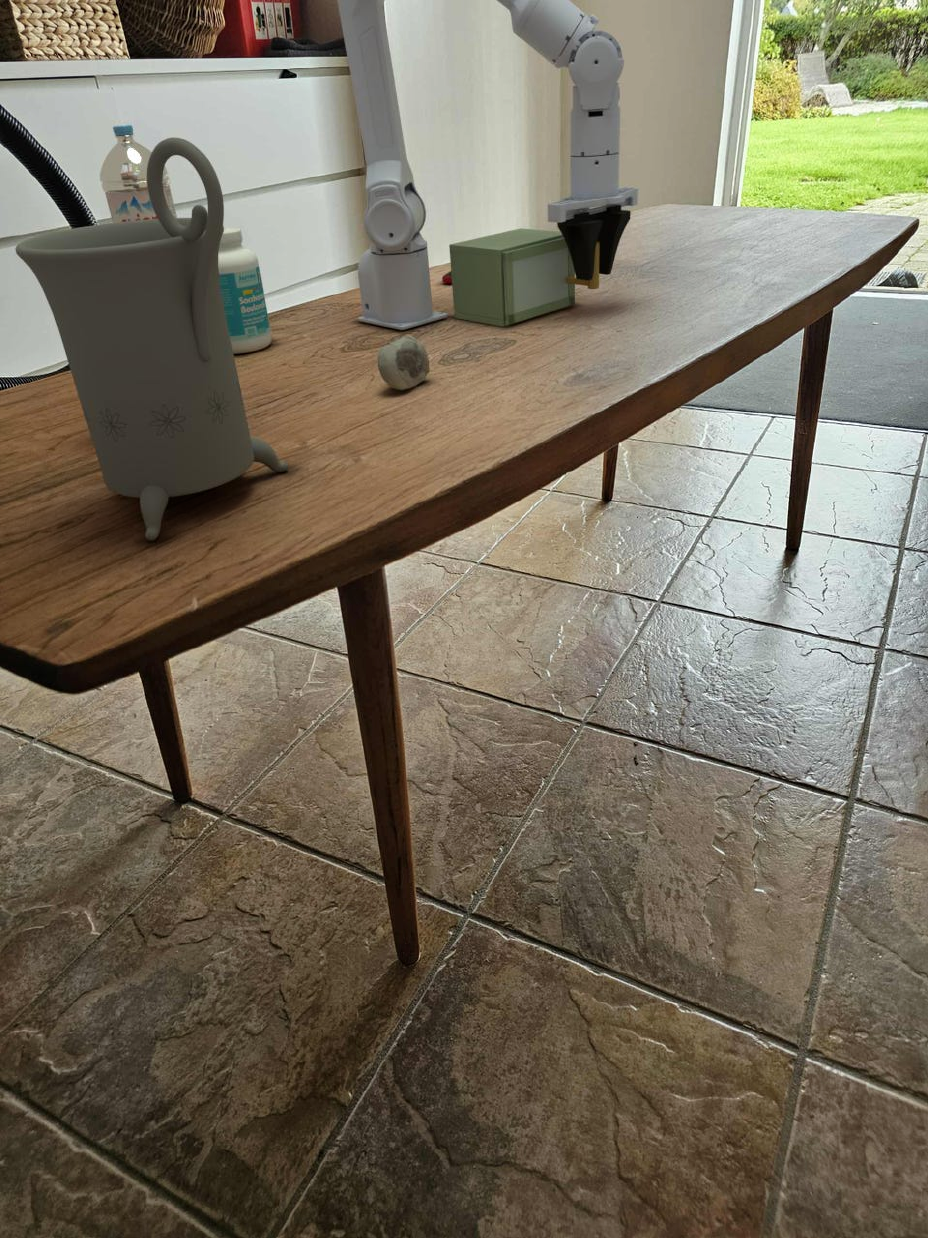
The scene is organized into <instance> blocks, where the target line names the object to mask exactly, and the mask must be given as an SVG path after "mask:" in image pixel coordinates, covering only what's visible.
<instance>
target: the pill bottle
mask: <svg viewBox="0 0 928 1238" xmlns="http://www.w3.org/2000/svg"><path fill="white" fill-rule="evenodd" d="M242 243H243V234H242V230H241V229H240V228H238V227H237V228H235V227H229V228H228V227H227V228H224V232H223V235H222V237H221V241H220V245H219V252H218V268H219V278H220V288H221V294H222V300H223V305H224V311H225V315H226V320H227V325H228V330H229V335H230V340H231V345H232V350H233V355H236V354H237V355H238V354H247V353H253V352H256V351H260V350H263V349H265V348H267V347H268V346H269V345H270V344H271V342H272V339H273V338H272V331H271V326H270V325H271V324H270V319H269V314H268V309H267V304H266V303H267V302H266V298H265V292H264V287H263V286H264V285H263V280H262V275H261V267H260V263H259V258H258V256H257V255H256V253H255V252H254V251H252V250H251V249H249V248H245V247H244V246H243V245H242Z"/></svg>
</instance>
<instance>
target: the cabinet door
mask: <svg viewBox="0 0 928 1238" xmlns="http://www.w3.org/2000/svg"><path fill="white" fill-rule="evenodd" d="M599 250H600V243H599V242H597V243H596V249H595V261H594V272H593V277H592V280H581V279H576V275H575V270H574V266H573V262H572V258H571V255H570V251H569V249H568V246H567V243H566V241H565V239H564V238H560V239H556V240H552V241H548V242H543V243H539V244H535V245H531V246H527V247H523V248H519V249H515V250H511V251H507V252H503V273H504V297H505V320H506V325H507V326H510V324H511V325H513V323H514V324H517V323H520V322H523V321H527V320H529V318H530V319H532V317H533V318H536V317H539V316H542V315H545V313H546V314H548V312H549V313H551V311H552V312H555V311H558V310H562V309H564V307H565V308H567V306H568V307H571V306H573V305H576V286H577V285H578V286H585V287H587V289H588V290H597V289H599V288H600V274H599ZM570 305H571V306H570ZM561 308H562V309H561ZM554 310H555V311H554ZM538 315H539V316H538ZM535 316H536V317H535ZM522 320H523V321H522ZM519 321H520V322H519ZM516 322H517V323H516Z"/></svg>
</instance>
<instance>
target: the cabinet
mask: <svg viewBox="0 0 928 1238" xmlns="http://www.w3.org/2000/svg"><path fill="white" fill-rule="evenodd" d="M560 238H564V237H563V235H562V233H561V231H560V230H559V231H557V230H546V229H532V228H522V227H520V228H516V229H511V230H507V231H503V232H499V233H494V234H490V235H486V236H481V237H477V238H476V237H475V238H472V239H467V240H463V241H459V242H455V243H450V244H449V245H448V247H449V260H450V261H449V262H450V271H451V275H452V283H451V286H452V287H451V288H452V301H453V302H452V303H453V312H454V318H455V319H458V320H464V321H469V322H475V323H480V324H485V325H491V326H496V327H502V328H503V327H507V326H508V325H506V320H505V297H504V273H503V252H507V251H511V250H515V249H519V248H523V247H527V246H531V245H535V244H539V243H543V242H548V241H552V240H556V239H560ZM571 306H572V305H570V306H567V307H571ZM567 307H564V308H567ZM564 308H561V309H560V310H562V309H564ZM555 311H556V310H554V311H551V312H555ZM551 312H548V313H551ZM548 313H545V314H548ZM545 314H544V315H545ZM539 316H540V315H538V316H535V317H532V318H536V317H539ZM532 318H529V319H532ZM529 319H528V320H529ZM523 321H524V320H522V321H519V322H516V323H513V324H517V323H520V322H523ZM513 324H510V325H513ZM510 325H509V326H510Z"/></svg>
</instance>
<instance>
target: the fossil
mask: <svg viewBox="0 0 928 1238" xmlns="http://www.w3.org/2000/svg"><path fill="white" fill-rule="evenodd" d="M429 359H430V358H429V356H428V353H427V350H426V348H425V347H424V345H423V344H422V343H421V341H419V340H418V339H417V338H415V337H414V336H413V335H411V334H405V335H402V336H400V337H397V338H395V339H393V340H391V341H389V342H387V343H386V344H385V345H383V346H381V348H380V349H379V350H378V355H377V369H378V372H379V375H380V377H381V379H382V380H383V382H384V383H385V384H386V385H387V386H388V387H391V388H393V389H394V390H400V391H404V390H408V389H409V390H410V389H411V388H415V387H416V386H417V385H418V384H420V383H422V382H423V381H425V380H426V378H427V376H428V374H429V373H430V360H429Z"/></svg>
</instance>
